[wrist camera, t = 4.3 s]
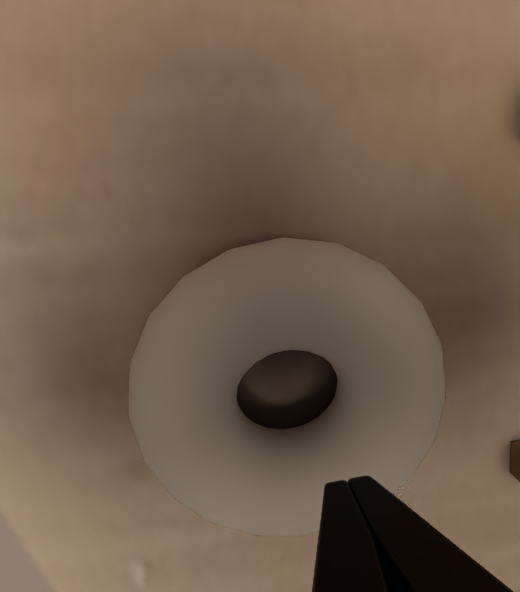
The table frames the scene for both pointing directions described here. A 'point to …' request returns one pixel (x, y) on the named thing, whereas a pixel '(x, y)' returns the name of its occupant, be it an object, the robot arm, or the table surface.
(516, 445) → the carrier cradle
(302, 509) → the donut
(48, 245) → the table surface
